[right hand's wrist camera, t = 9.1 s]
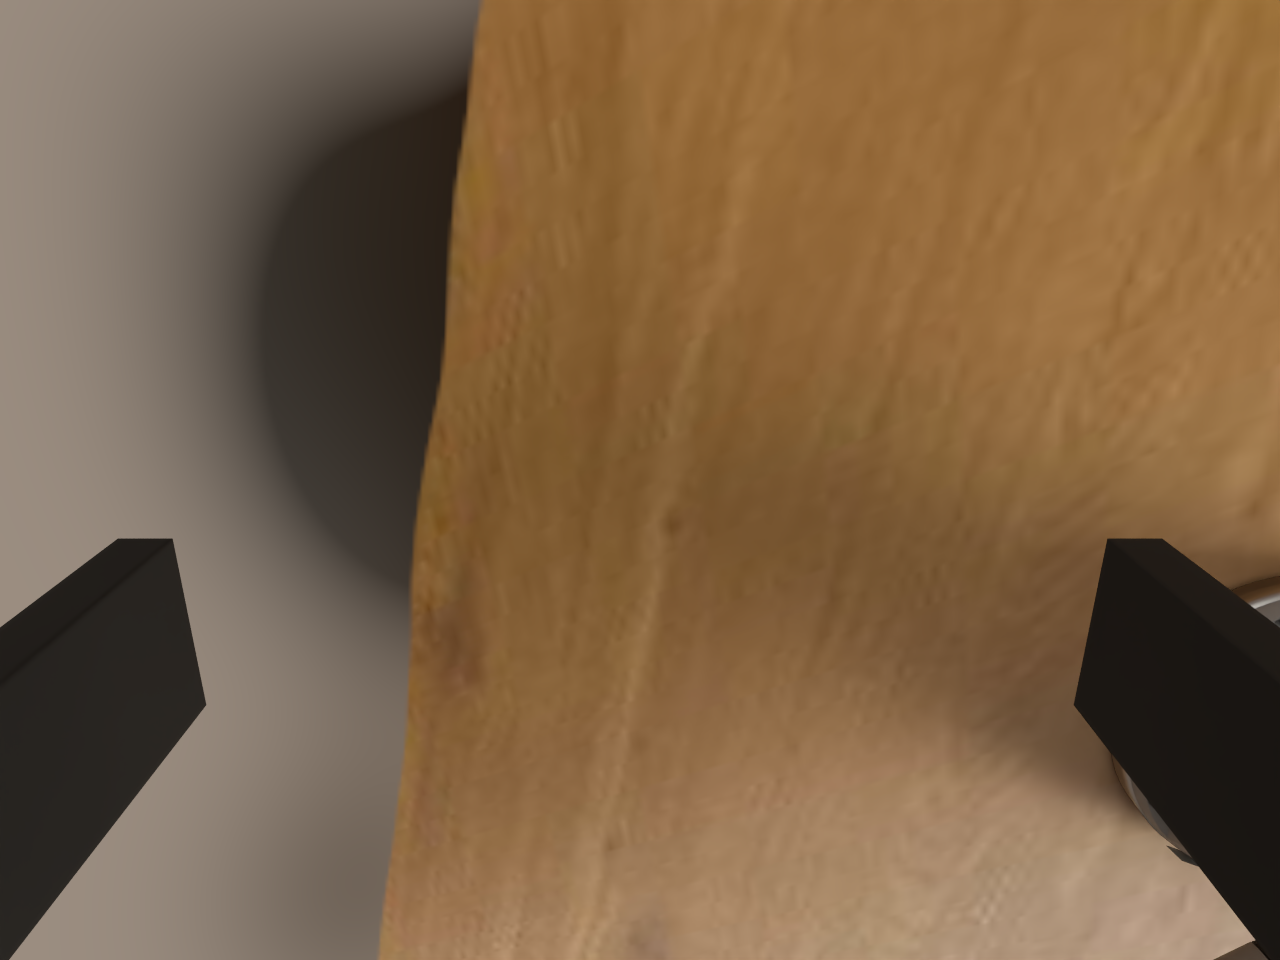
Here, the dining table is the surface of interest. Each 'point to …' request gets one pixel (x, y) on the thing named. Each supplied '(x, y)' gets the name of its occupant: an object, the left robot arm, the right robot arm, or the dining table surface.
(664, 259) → the dining table surface
